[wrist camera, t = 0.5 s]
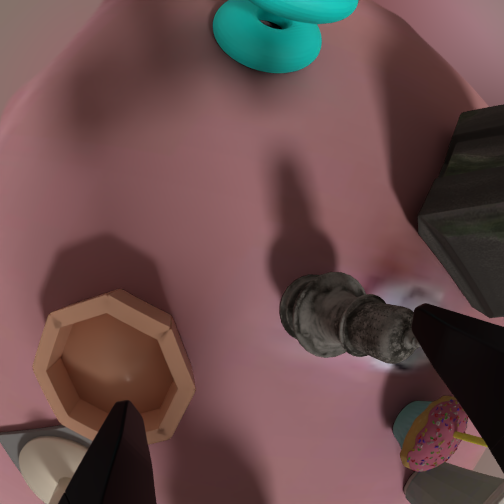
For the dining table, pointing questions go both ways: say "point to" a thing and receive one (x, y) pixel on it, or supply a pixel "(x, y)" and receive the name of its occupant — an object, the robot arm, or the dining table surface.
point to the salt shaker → (345, 319)
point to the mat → (18, 439)
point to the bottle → (471, 210)
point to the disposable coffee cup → (453, 487)
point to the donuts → (276, 31)
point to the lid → (50, 465)
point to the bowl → (114, 364)
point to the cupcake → (431, 432)
